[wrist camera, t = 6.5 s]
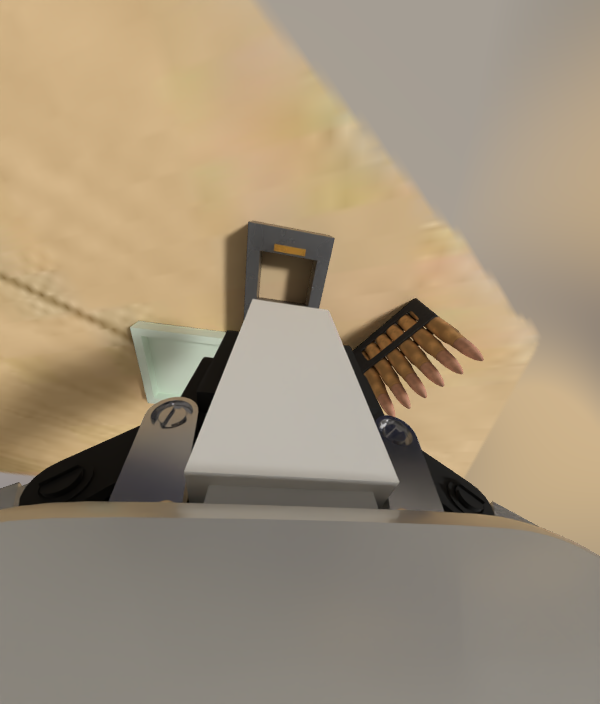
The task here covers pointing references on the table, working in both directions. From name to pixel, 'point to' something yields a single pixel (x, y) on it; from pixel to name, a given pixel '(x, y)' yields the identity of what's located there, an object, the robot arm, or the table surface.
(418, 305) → the ammunition clip
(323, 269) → the dark grey holder base
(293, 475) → the grey rectangular block
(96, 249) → the table surface
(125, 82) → the table surface
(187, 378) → the tray
